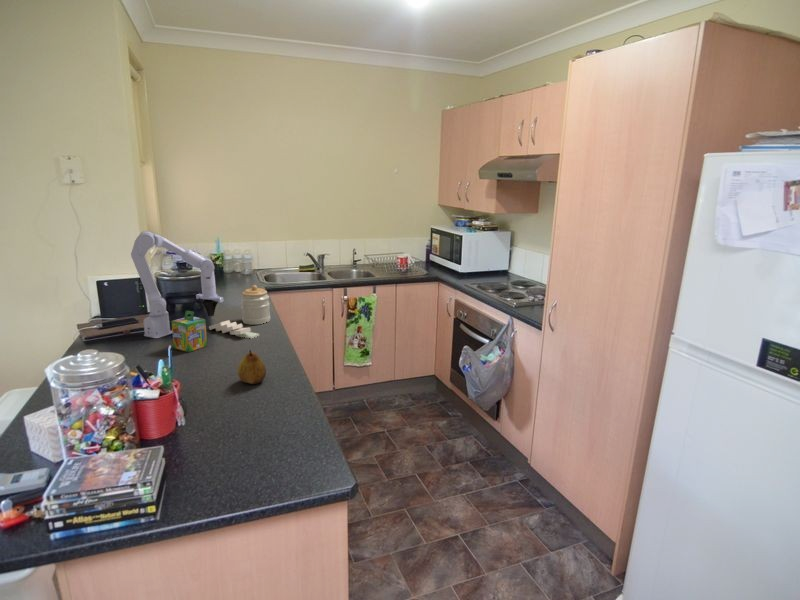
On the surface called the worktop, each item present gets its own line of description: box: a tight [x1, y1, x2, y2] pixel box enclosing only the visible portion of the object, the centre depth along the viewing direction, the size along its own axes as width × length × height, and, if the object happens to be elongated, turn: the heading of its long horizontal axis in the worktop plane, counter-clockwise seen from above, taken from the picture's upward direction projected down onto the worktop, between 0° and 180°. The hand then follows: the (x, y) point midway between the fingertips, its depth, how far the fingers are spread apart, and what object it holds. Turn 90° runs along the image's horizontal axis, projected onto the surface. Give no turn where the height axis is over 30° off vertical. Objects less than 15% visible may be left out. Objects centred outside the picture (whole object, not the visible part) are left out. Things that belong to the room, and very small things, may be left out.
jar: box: [240, 284, 271, 326], centre depth 221 cm, size 13×13×18 cm
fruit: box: [237, 349, 267, 385], centre depth 154 cm, size 9×9×12 cm
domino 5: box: [235, 331, 260, 340], centre depth 201 cm, size 2×5×9 cm
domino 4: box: [229, 327, 252, 336], centre depth 200 cm, size 2×5×9 cm
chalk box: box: [170, 310, 208, 353], centre depth 185 cm, size 9×9×15 cm
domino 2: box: [214, 321, 238, 332], centre depth 206 cm, size 2×5×9 cm
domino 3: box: [221, 322, 244, 334], centre depth 203 cm, size 2×5×9 cm
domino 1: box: [208, 319, 231, 331], centre depth 208 cm, size 2×5×9 cm
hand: (211, 315), depth 209 cm, fingers closed
